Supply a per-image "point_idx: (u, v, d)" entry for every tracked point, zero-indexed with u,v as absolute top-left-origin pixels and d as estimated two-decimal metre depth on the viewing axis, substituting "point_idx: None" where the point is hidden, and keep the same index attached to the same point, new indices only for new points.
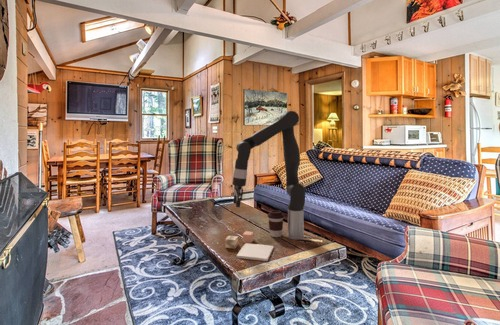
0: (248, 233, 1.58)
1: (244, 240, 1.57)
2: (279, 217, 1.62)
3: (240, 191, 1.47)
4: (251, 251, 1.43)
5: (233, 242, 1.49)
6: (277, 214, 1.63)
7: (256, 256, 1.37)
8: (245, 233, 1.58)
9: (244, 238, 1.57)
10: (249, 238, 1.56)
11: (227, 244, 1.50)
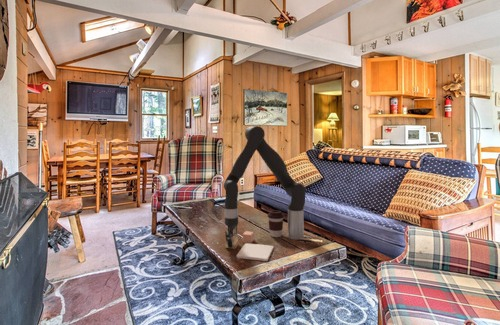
0: (248, 233, 1.58)
1: (244, 240, 1.57)
2: (279, 217, 1.62)
3: (227, 233, 1.45)
4: (251, 251, 1.43)
5: (233, 242, 1.49)
6: (277, 214, 1.63)
7: (256, 256, 1.37)
8: (245, 233, 1.58)
9: (244, 238, 1.57)
10: (249, 238, 1.56)
11: (227, 244, 1.50)
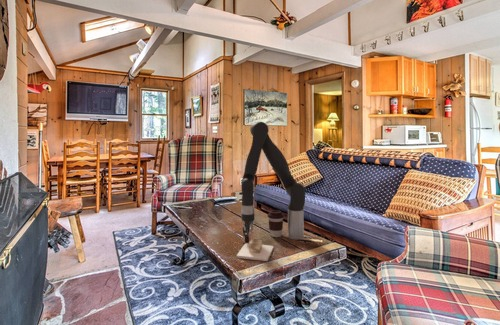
0: None
1: (244, 240, 1.57)
2: (279, 217, 1.62)
3: (244, 229, 1.52)
4: None
5: (257, 246, 1.40)
6: (277, 214, 1.63)
7: (256, 256, 1.37)
8: None
9: (244, 238, 1.57)
10: (249, 238, 1.56)
11: (251, 248, 1.41)
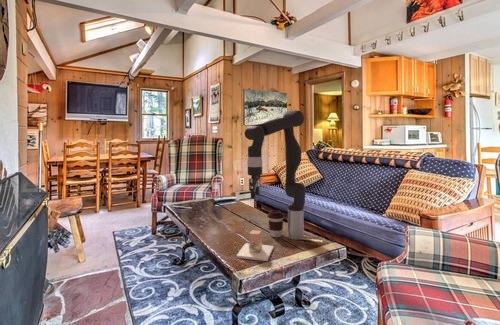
0: (255, 232, 1.42)
1: (251, 240, 1.41)
2: (279, 217, 1.62)
3: (251, 181, 1.33)
4: None
5: (257, 246, 1.40)
6: (277, 214, 1.63)
7: (256, 256, 1.37)
8: (252, 232, 1.42)
9: (251, 238, 1.41)
10: (256, 238, 1.40)
11: (251, 248, 1.41)
